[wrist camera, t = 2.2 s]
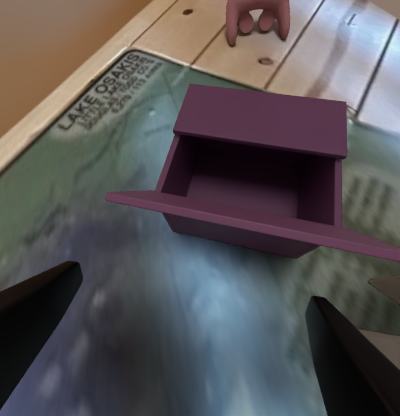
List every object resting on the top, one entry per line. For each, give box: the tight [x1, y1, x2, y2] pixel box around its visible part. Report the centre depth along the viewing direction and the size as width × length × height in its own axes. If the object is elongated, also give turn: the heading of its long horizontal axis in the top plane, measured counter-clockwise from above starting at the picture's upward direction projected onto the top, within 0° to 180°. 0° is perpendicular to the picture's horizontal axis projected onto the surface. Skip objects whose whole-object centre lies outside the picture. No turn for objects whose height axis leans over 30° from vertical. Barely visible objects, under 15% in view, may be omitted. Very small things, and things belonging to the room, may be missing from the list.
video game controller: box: [226, 0, 290, 45], centre depth 34 cm, size 10×5×7 cm, turn 96°
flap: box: [106, 190, 400, 262], centre depth 12 cm, size 5×13×1 cm
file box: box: [155, 84, 347, 259], centre depth 21 cm, size 11×13×9 cm
